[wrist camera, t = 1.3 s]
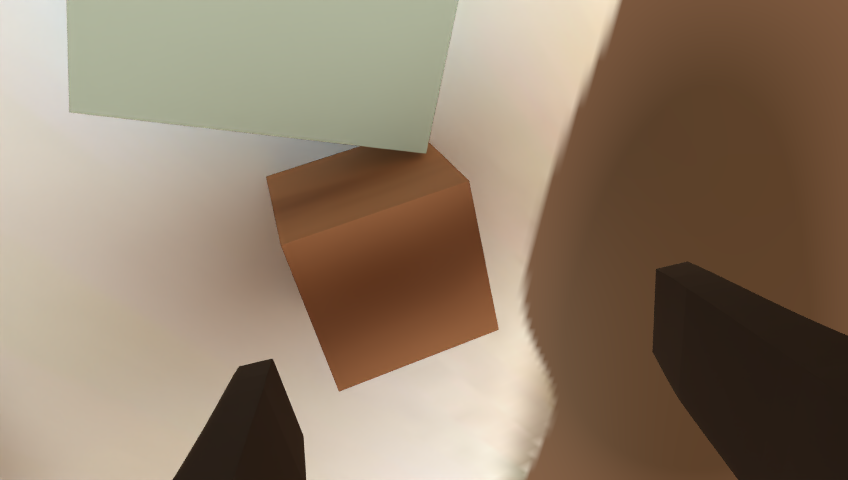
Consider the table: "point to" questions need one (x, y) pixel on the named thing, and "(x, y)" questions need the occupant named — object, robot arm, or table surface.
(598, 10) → the table surface
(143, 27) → the sage green box
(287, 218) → the walnut cube
